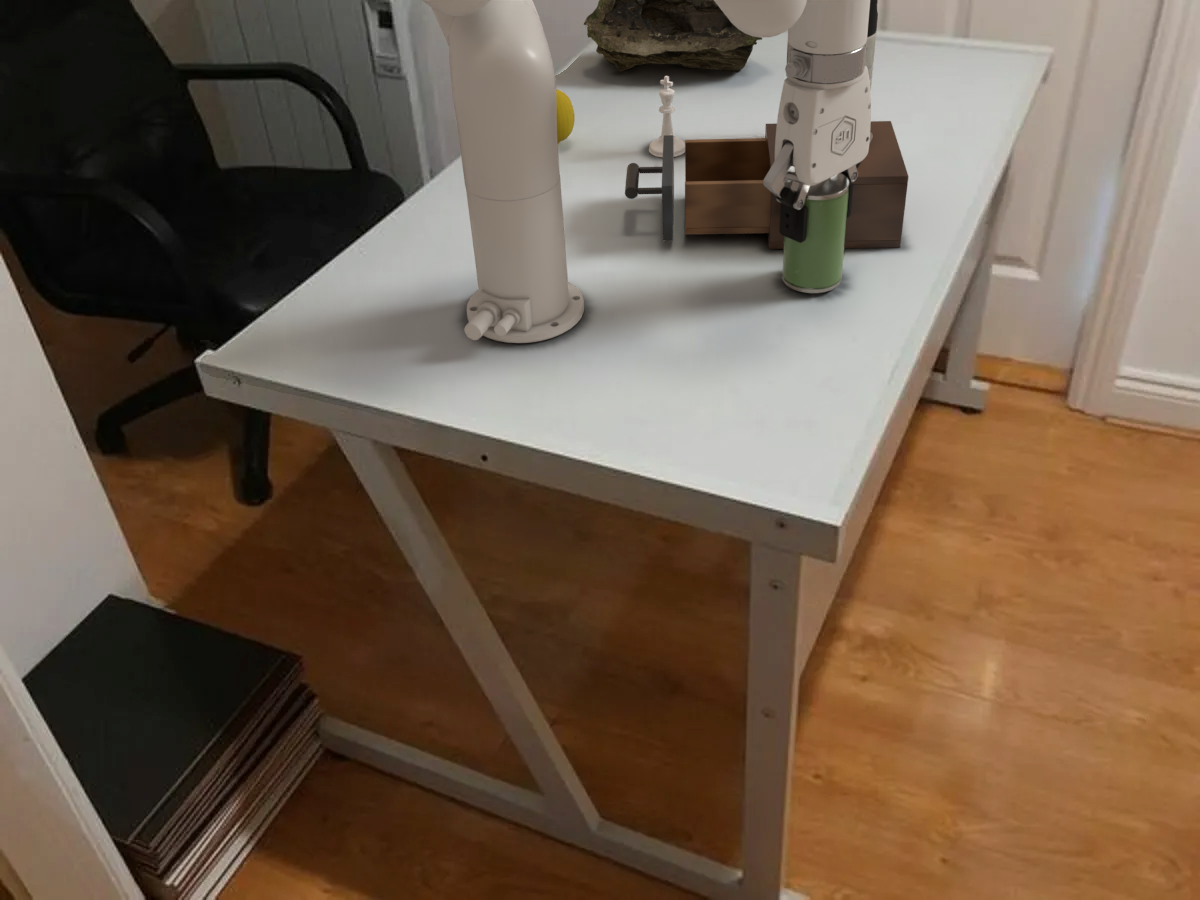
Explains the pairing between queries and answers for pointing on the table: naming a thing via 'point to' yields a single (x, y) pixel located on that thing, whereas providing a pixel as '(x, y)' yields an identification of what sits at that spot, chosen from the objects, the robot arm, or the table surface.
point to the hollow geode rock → (668, 34)
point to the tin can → (819, 239)
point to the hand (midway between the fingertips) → (815, 224)
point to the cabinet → (864, 193)
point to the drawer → (713, 186)
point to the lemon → (564, 116)
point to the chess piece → (666, 122)
